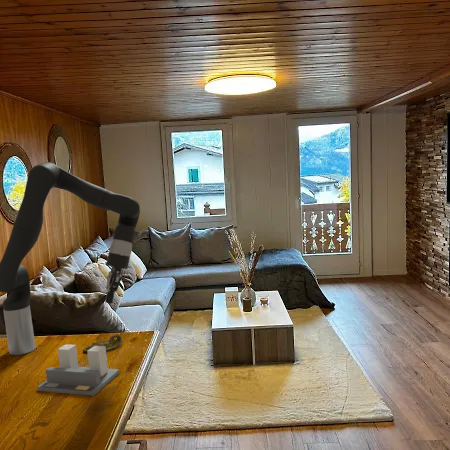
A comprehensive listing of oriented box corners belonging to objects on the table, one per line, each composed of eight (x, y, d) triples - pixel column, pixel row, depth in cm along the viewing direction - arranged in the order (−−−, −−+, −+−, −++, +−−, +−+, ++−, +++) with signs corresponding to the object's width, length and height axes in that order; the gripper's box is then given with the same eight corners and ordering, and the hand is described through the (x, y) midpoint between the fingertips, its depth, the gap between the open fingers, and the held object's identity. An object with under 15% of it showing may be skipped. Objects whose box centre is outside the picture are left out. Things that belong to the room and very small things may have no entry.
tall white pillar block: (97, 370, 147) (94, 345, 145) (108, 371, 145) (105, 346, 144) (90, 376, 143) (87, 350, 142) (101, 377, 142) (98, 351, 140)
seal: (85, 360, 163) (126, 350, 169) (84, 348, 162) (125, 338, 168) (81, 349, 171) (120, 339, 178) (79, 338, 170) (119, 328, 177)
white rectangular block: (68, 368, 150) (65, 344, 149) (78, 369, 149) (75, 344, 148) (60, 374, 146) (57, 349, 145) (71, 374, 145) (68, 349, 144)
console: (67, 369, 153) (65, 354, 153) (119, 372, 147) (118, 357, 147) (37, 390, 139) (35, 374, 138) (93, 395, 133) (91, 379, 132)
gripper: (105, 252, 164) (94, 300, 161) (112, 251, 152) (100, 302, 149) (125, 256, 167) (115, 303, 163) (134, 255, 155) (123, 306, 152)
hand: (108, 303), depth 156 cm, fingers closed
